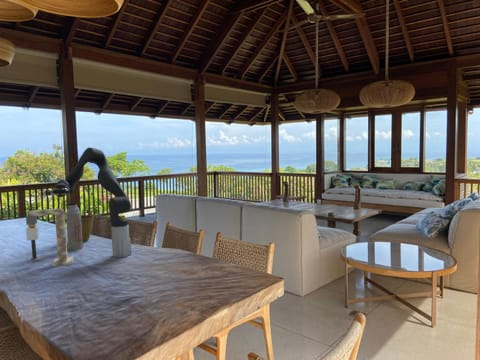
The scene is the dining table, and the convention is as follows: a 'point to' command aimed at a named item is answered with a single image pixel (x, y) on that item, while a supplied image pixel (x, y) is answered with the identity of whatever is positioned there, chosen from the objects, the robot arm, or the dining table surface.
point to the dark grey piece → (31, 223)
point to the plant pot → (86, 226)
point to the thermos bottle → (74, 227)
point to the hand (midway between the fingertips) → (58, 193)
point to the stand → (57, 234)
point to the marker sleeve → (32, 233)
